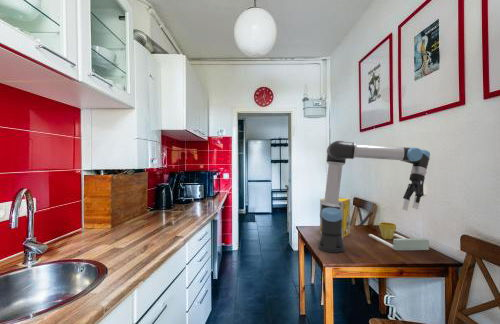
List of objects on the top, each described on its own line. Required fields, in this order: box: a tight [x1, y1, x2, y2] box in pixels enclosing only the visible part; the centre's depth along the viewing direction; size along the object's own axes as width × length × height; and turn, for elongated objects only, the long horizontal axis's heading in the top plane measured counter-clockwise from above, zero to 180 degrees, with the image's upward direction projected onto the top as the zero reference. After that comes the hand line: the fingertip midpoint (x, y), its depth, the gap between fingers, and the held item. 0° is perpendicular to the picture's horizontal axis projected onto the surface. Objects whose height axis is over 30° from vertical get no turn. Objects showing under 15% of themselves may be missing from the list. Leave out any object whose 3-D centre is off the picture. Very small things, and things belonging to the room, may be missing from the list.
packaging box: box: [319, 197, 351, 239], centre depth 192 cm, size 16×16×25 cm
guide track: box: [368, 233, 430, 251], centre depth 173 cm, size 32×20×6 cm, turn 4°
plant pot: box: [378, 221, 397, 240], centre depth 183 cm, size 10×10×10 cm
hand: (409, 209), depth 156 cm, fingers open, 13 cm apart
